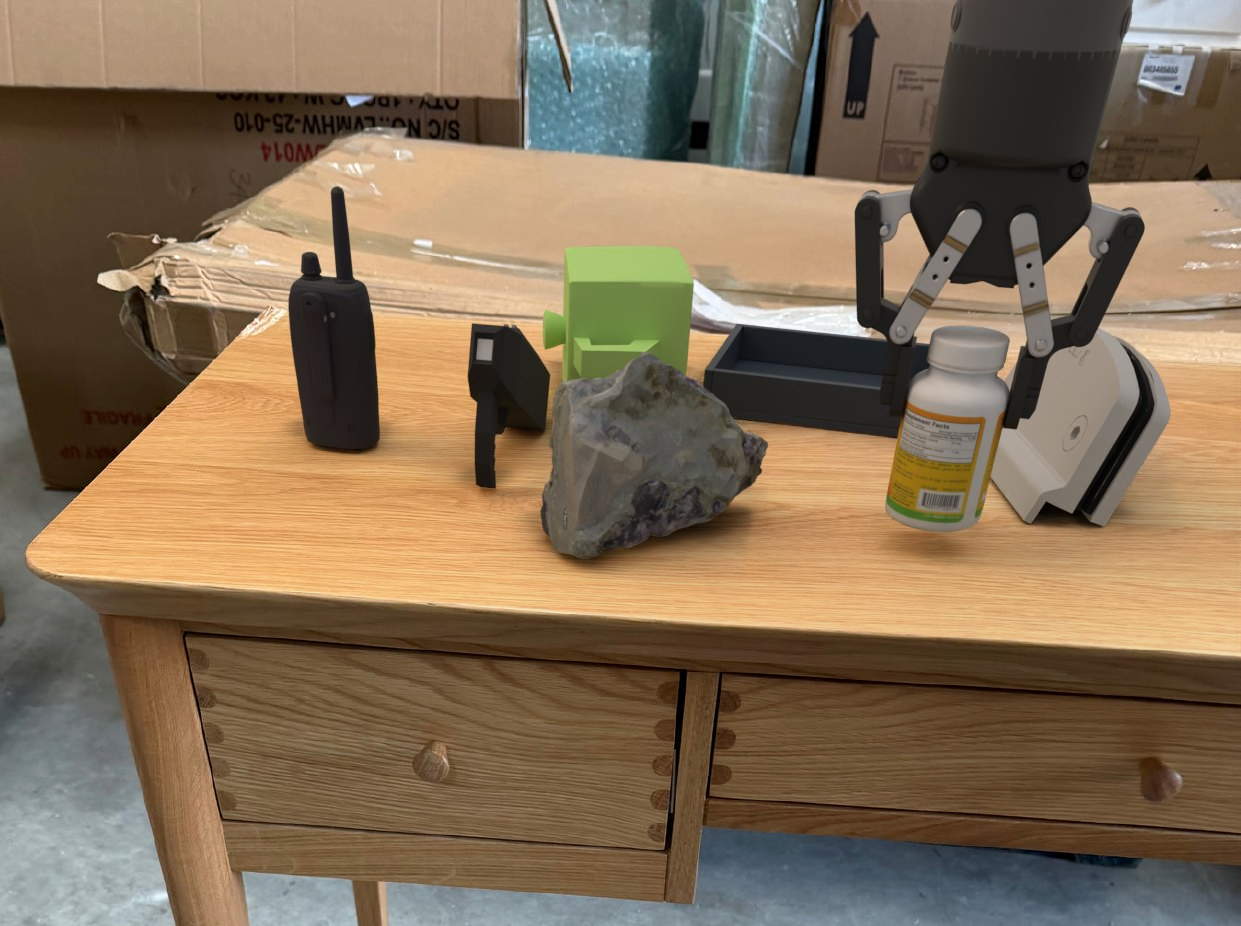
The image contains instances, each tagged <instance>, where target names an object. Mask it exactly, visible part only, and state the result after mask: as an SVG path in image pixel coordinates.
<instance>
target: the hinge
mask: <svg viewBox="0 0 1241 926" xmlns="http://www.w3.org/2000/svg"><path fill="white" fill-rule="evenodd" d="M1016 364H1017V361H1016V362H1015V363H1014V365H1013V367H1012V368H1011V369H1010V371H1009V372H1008V374H1007V376H1006V377H1005V379H1004V380H1003V381H1004V382H1005V383H1006V384H1007V386H1008V388H1009V393H1010V389H1011V384H1012V380H1013V376H1014V372H1015V368H1016ZM1171 412H1172V410H1171V405H1170V401H1169V396H1168V393H1167V391H1166V387H1165V384H1164V382H1163V379H1162V378H1161V376H1160V374H1159V373H1158V371H1157V369H1156V368H1155V366H1154V365H1153V364H1152V362H1151V361H1150V360H1149V359H1148V358H1147V357H1146V356H1144V355H1143V354H1142V353H1141V352H1140V351H1139V350H1138V349H1137V348H1136V347H1134V346H1133V344H1131V343H1130V342H1128V341H1126V340H1124V339H1123V338H1121V337H1120V336H1115V335H1113V334H1111V333H1109V332H1108V331H1106V330H1104V329H1102V328H1100V327H1098V329H1097V331H1096V333H1095V336H1094V338H1093V339H1092V341H1091V342H1090V343H1089V344H1088V345H1086V346H1084V347H1075V346H1073V347H1069V348H1065V349H1061V350H1059V351H1057V352H1055V353H1054V354H1053V355H1052V356H1051V358H1050V359H1049V361H1048V364H1047V368H1046V372H1045V376H1044V380H1043V383H1042V387H1041V391H1040V395H1039V398H1038V403H1037V406H1036V410H1035V412H1034V413H1033V414H1032V416H1031V417H1030V419H1021V418H1020V420H1019V424H1018V428H1017V430H1015V429H1006V428H1003V429H1002V432H1001V437H1000V441H999V445H998V449H997V452H996V456H995V460H994V464H993V469H992V473H991V477H990V479H991V480H992V481H993V482H994V484H995V485H996V487H997V488H998V489H999V490H1000V491H1001V493H1002V494H1003V496H1004V497H1005V498H1006V500H1007V501H1008V502H1009V504H1010V505H1011V506H1012V508H1014V510H1015V511H1016V512H1017V514H1018V515H1019V516H1020V518H1021V519H1022V520H1023V522H1025V523H1028V524H1030V525H1031V524H1032V523H1033V522H1034V520H1035V518H1037V516H1038V514H1039V512H1040V511H1041V510H1042V508H1043V507H1044V505H1045V504H1046V502H1047V503H1049V504H1051V505H1053V506H1055V507H1057V508H1058V509H1061V510H1063V511H1065V512H1067V513H1069V514H1074V511H1075V510H1078V511H1079V512H1081V513H1082V515H1083V516H1084V517H1085V518H1086V519H1087V520H1088V521H1089V522H1090V523H1093V524H1096V525H1099V526H1102V527H1106V525H1107V523H1108V522H1109V520H1110V518H1111V517H1112V515H1113V513H1114V512H1115V511H1116V509H1117V508H1118V506H1119V504H1120V502H1121V501H1122V499H1123V497H1124V496H1125V494H1126V493H1127V491H1128V489H1129V488H1130V486H1131V484H1132V483H1133V481H1134V479H1135V478H1136V476H1137V475H1138V473H1139V471H1140V469H1142V467H1143V465H1144V463H1145V462H1146V460H1147V458H1148V457H1149V455H1150V453H1151V452H1152V450H1153V448H1154V447H1155V446H1156V444H1157V442H1158V441H1159V439H1160V438H1161V435H1162V434H1163V432H1164V431H1165V429H1166V427H1167V426H1168V424H1169V421H1170V419H1171V415H1172V413H1171Z"/></svg>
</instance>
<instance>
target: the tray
mask: <svg viewBox="0 0 1241 926" xmlns="http://www.w3.org/2000/svg"><path fill="white" fill-rule="evenodd" d="M929 344H930V343H925V342H916V346H915V351H914V356H913V361H912V366H911V372H910V377H909V382H910V381H911V379H912V378H913V377H914V376H915V375H916V374H918V373H919V372H921V371H924V370H926V369H929V366H930V364H929V363H928V362H927V356H928V349H929ZM887 349H888V342H887V339H886V338H878V337H877V338H876V337H868V336H859V335H850V334H849V335H848V334H841V333H840V334H838V333H829V332H820V331H812V330H802V329H792V328H782V327H774V326H773V327H771V326H762V325H755V324H754V325H753V324H743V323H736V324H735V325H734V327H733V328H732V330H731V331H730V333H729V334H728V336H727V337H726V339H725V340H724V341H723V343H722V344H721V345H720V347H719V348H718V350H717V351H716V353H715V354H714V356H713V358H711V360H710V362H709V363H708V365H707V366H706V367H705V368H704V375H703V384H702V386H703V387H704V388H706V389H707V390H709V391H710V392H711V393H713V394H714V395H715V396H716V397H717V398H718V399H719V400H721V401H722V402H724V403H725V404H726V406H727V408H728V409H729V412H730V415H731V416H732V417H733V419H739V420H745V421H746V420H747V421H755V422H764V423H773V424H779V425H789V426H797V427H805V428H812V429H820V430H821V429H822V430H830V431H837V432H847V433H854V434H861V435H862V434H863V435H871V436H878V437H888V438H894V439H895V438H896V439H897V438H898V433H899V428H900V422H901V418H899V417H890V416H889V412H890V406H891V405H884V404H881V399H880V389H881V383H882V377H883V372H884V366H885V361H886V355H887ZM909 382H908V385H909ZM907 388H908V387H907Z"/></svg>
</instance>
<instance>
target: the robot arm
mask: <svg viewBox="0 0 1241 926" xmlns="http://www.w3.org/2000/svg"><path fill="white" fill-rule="evenodd" d="M1133 4H1134V0H956V1H955V3H954V5H953V7H952V10H951V11H952V12H951V15H950V16H951V17H950V34H949V39H948V45H947V52H946V56H945V61H944V67H943V71H942V72H943V74H942V78H941V84H940V89H939V94H938V99H937V106H936V112H935V116H934V122H933V128H932V133H931V139H930V144H929V149H928V155H927V160H926V165H925V167H924V169H923V170H922V173H921V175H920V176H919V178H918V179H917V180H916V182H915V183H914V185H913V188H911V189H904V190H898V191H897V190H896V191H890V192H883V193H880V191H878V190H875V189H869V190H867V191H865V192H864V193H863V194H862V195H861V196H860V198H859V200H858V202H857V204H856V206H855V209H854V245H855V246H854V249H855V250H854V251H855V252H854V253H855V257H854V258H855V293H856V294H855V296H856V299H855V300H856V320H857V321H856V322H857V324H858V325H859V326H860V327H861V328H864V329H872V330H875V331H877V332H878V333H880V334H881V335H882V336H884V338H885V339H887V342H888V349H887V355H886V361H885V366H884V372H883V377H882V383H881V389H880V399H881V404H884V405H891V406H890V412H889V416H890V417H899V418H901V417H902V412H903V407H904V402H905V397H906V392H907V387H908V382H909V377H910V372H911V366H912V361H913V356H914V351H915V346H916V343H917V340H918V336H916V335H915V332H916V331H917V329H918V327H919V326H920V325H921V322H922V321H923V319H924V318H925V316H926V314H927V313H928V312H929V310H930V308H931V306H932V305H933V304H934V303H935V301H936V299H937V298H938V296H939V295H940V293H941V291H942V290H943V288H944V287H945V285H946V283H948V280H949V284H955V285H970V284H971V285H972V284H975V283H981V282H982V283H983V282H984V283H986V284H988V285H991V286H994V287H996V288H1003V289H1015V286H1018V293H1019V298H1020V299H1019V300H1020V305H1021V311H1022V317H1023V322H1024V330H1025V335H1026V341H1025V345H1020V347H1019V353H1018V356H1017V360H1016V362H1017V364H1016V363H1015V364H1016V368H1015V372H1014V376H1013V380H1012V384H1011V389H1010V398H1009V403H1008V408H1007V413H1006V416H1005V420H1004V425H1003V428H1006V429H1015V430H1017V428H1018V424H1019V420H1020V418H1021V419H1030V417H1031V416H1032V414H1033V413H1034V412H1035V410H1036V406H1037V403H1038V398H1039V395H1040V391H1041V387H1042V383H1043V380H1044V376H1045V372H1046V368H1047V364H1048V361H1049V359H1050V358H1051V356H1052V355H1053V354H1054V353H1055V352H1057V351H1059V350H1061V349H1065V348H1069V347H1073V346H1075V347H1084V346H1086V345H1088V344H1089V343H1090V342H1091V341H1092V339H1093V338H1094V336H1095V333H1096V331H1097V329H1098V328H1100V325H1101V323H1102V321H1103V318H1104V317H1105V315H1106V312H1107V311H1108V309H1109V307H1110V305H1111V302H1112V300H1113V298H1114V296H1115V294H1116V292H1117V290H1118V288H1119V285H1120V284H1121V281H1122V280H1123V277H1124V275H1125V273H1126V271H1127V269H1128V267H1129V265H1130V263H1131V261H1132V259H1133V257H1134V255H1135V252H1136V251H1137V248H1138V247H1139V244H1140V242H1141V240H1142V238H1143V236H1144V233H1145V231H1146V230H1145V229H1146V225H1145V221H1144V220H1143V217H1142V215H1141V213H1140V212H1139V210H1138V209H1137V208H1135V207H1132V206H1128V207H1124V208H1122V209H1117V208H1115V207H1112V206H1109V205H1104V204H1101V203H1098V202H1095V201H1093V200H1092V195H1091V191H1090V185H1089V184H1090V183H1089V181H1090V180H1089V179H1090V173H1091V166H1092V163H1093V159H1094V155H1095V151H1096V149H1097V148H1096V147H1097V144H1098V140H1099V136H1100V132H1101V128H1102V124H1103V121H1104V116H1105V112H1106V108H1107V104H1108V101H1109V98H1110V93H1111V89H1112V85H1113V83H1114V82H1113V81H1114V78H1115V73H1116V71H1117V66H1118V62H1119V60H1120V59H1119V58H1120V54H1121V51H1122V46H1123V44H1124V43H1123V42H1124V39H1125V37H1126V35H1127V33H1128V31H1129V29H1130V26H1131V22H1132V17H1133ZM908 214H911V216H912V218H913V221H914V223H915V225H916V227H917V230H918V232H919V234H920V236H921V238H922V241H923V243H924V245H925V247H926V249H927V252H928V253H929V254H928V256H927V257H926V259H925V261H924V263H923V264H922V267H920V269H919V271H918V273H917V274H916V276H915V279H914V280H913V283H912V284H911V286H910V287H909V289H908V291H907V293H906V294H905V296H904V298H903V300H902V301H901V303H900V304H899V305H898V304H896V303H894V302H892V301H890V300H889V299H887V298H885V249H884V248H885V247H884V246H885V243H888V242H890V241H891V240H893V239H894V238H895V236H897V235H896V234H897V232H898V229H899V224H900V222H901V220H902V219H903V218H904V217H905V216H906V215H908ZM1083 227H1086V228H1087V229H1088V230H1089V232H1090V234H1089V239H1088V242H1087V243H1088V244H1087V247H1088V251H1089V254H1090V256H1091V257H1092V258H1094V262H1093V264H1092V266H1091V269H1090V271H1089V273H1088V275H1087V277H1086V279H1085V282H1084V284H1083V286H1082V288H1081V289H1080V292H1079V294H1078V297H1077V299H1076V301H1075V303H1074V305H1073V307H1072V309H1071V312H1070V313H1069V314H1068V315H1064V316H1061V317H1060V316H1059V317H1056V318H1052V316H1051V310H1050V304H1049V295H1048V290H1047V282H1046V281H1047V280H1046V275H1045V269H1044V266H1046V264H1047V263H1049V262H1050V260H1051V259H1052V258H1053V257H1054V256H1055V255H1056V254H1057V253H1058V252H1059V251H1060V250H1061V249H1062V248H1063V247H1064V246H1065V245H1066V244H1067V243H1068V242H1069V241H1070V240H1071V239H1072V238H1073V237H1074V236H1075V234H1077V233H1078V232H1079V231H1080V230H1081V229H1082V228H1083Z"/></svg>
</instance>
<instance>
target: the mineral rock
mask: <svg viewBox="0 0 1241 926" xmlns="http://www.w3.org/2000/svg"><path fill="white" fill-rule="evenodd" d="M551 408H552V410H551V417H552V420H553V423H552V429H551V434H550V437H549V439H548V447H549V448H550V449H552V453H551V465H552V467H551V471H550V475H549V476H550V477H549V480H548V481H547V483H544V486H543V490H542V493H541V501H542V505H541V507H540V511H539V513H540V520H541V526H542V531H543V532H544V534H545V535H547V536H548V537H549V540H550V543H551V546H552V547H553V548H554V550H555V551H556V552H557V553H559V554H566V555H571V556H573V557H574V558H575V557H576V558H578V559H582V560H588V559H593V558H595V557H598V556H600V555H601V553H602V552H609V551H616V550H617V549H619V548H621V549H630V548H633V547H635V546H638V545H639V544H642V543H643V542H646V541H647V540H648V539H649V538H650V536H653V537H656V538H662V537H663V538H664V537H669V536H670V535H671V534H672V533H673V532H676V531H677V530H678V531H679V530H682V529H685V528H689V527H691V526H696V525H704V524H706V523H708V522H709V521H712V520H713V519H714V518H715V517H718V515H720V514H721V513H723V512H724V511H725V510H726V509H727V508H728V506H730V504H731V503H732V502H733V501H734V499H735V498H736V497H737V496H738V495H740V494H741V493H742V492H743V491H745V490H746V489H748V488H750V487H752V486H753V484H755V483H756V481H757V478H758V477H759V476H760V475H761V474H762V473H763V469H762V468H761V466H762V464H763V463H762V462H763V460H764V457H765V456H767V455H766V454H767V449H768V448H769V443H768V441H767V440H765V438H762V437H761V436H758V435H757V434H755V433H753V432H749V431H747V432H745V431H744V430H743V428H741V426H740V425H739V424H738V423H737V421H736V420H735V418H733V417H732V416H731V415H730V412H729V409H728V408H727V406H726V404H725V403H724V402H722V401H721V400H719V399H718V398H717V397H716V396H715V395H714V394H713V393H711V392H710V391H709V390H707V389H706V388H704V387H703V384H702V383H700V382H699V381H698V380H696V379H694V378H690V377H688V376H686V377H684V375H683V374H682V372H681V371H680V370H678V369H677V368H674V367H673V366H671V365H670V364H667V363H664V362H662V361H661V360H660V359H659V358H657V357H656V356H654V355H652V354H650V353H646V352H642V354H641V355H640V356H639V357H638V358H637V359H632V360H631V361H630V362H629V363H628V364H627V365H626V366H625V367H624V368H623V369H622V370H616V371H615V372H614V373H612V374H611V375H610V376H608V377H606V378H600V377H598V378H595V379H591V380H590V379H586V378H582V379H574V380H568V381H563V380H562V381H560V382H559V384H558V387H557V389H556V390H555V393H554V395H553V400H552V405H551Z"/></svg>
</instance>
